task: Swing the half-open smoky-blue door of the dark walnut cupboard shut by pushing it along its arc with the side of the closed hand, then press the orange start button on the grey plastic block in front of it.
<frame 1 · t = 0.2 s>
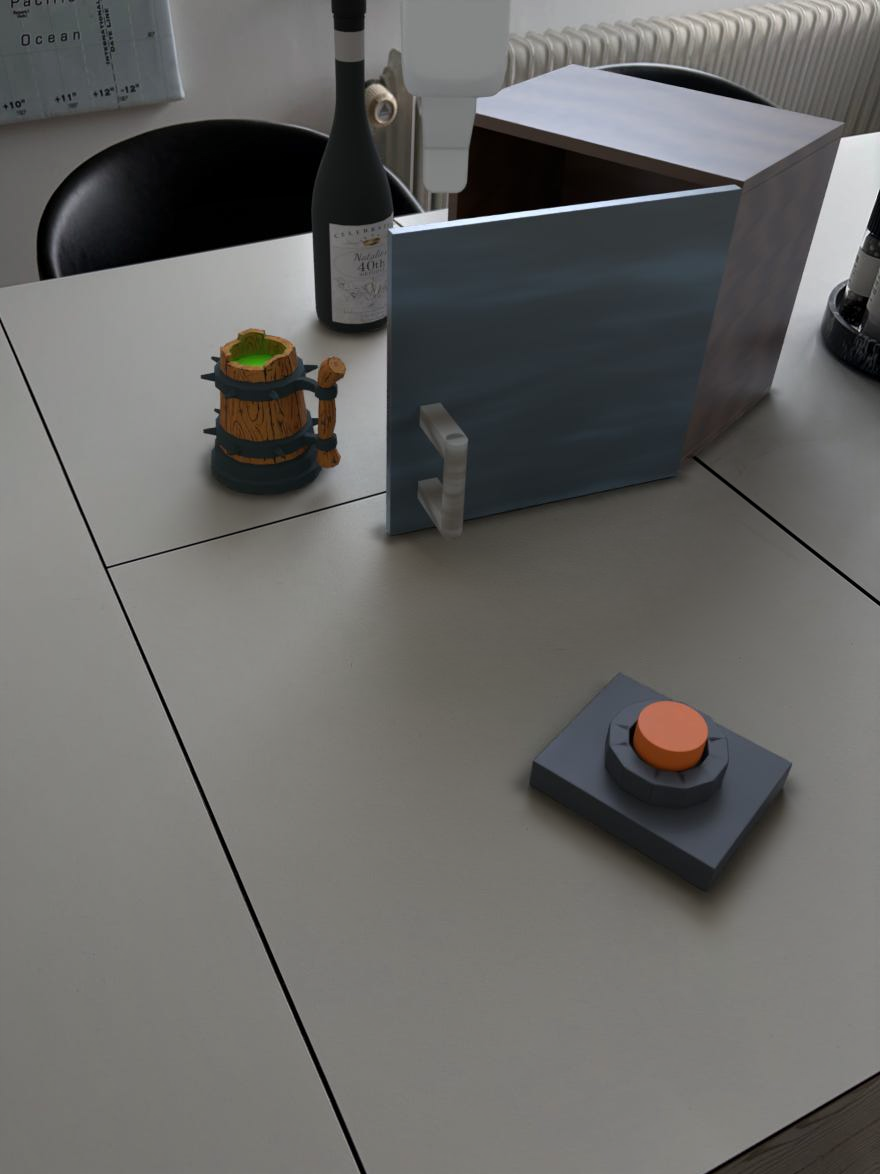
hand: (440, 149, 47), 34 cm above the table, tool pointing down, fingers open, 8 cm apart
cupboard: (603, 382, 100), on the table
mug: (281, 469, 89), on the table
start button: (670, 735, 61), point 4 cm above the table, slide at 0.1 cm
button block: (656, 785, 64), on the table
wine bottle: (354, 321, 110), on the table
door: (570, 388, 75), point 12 cm above the table, hinge at 60.0°
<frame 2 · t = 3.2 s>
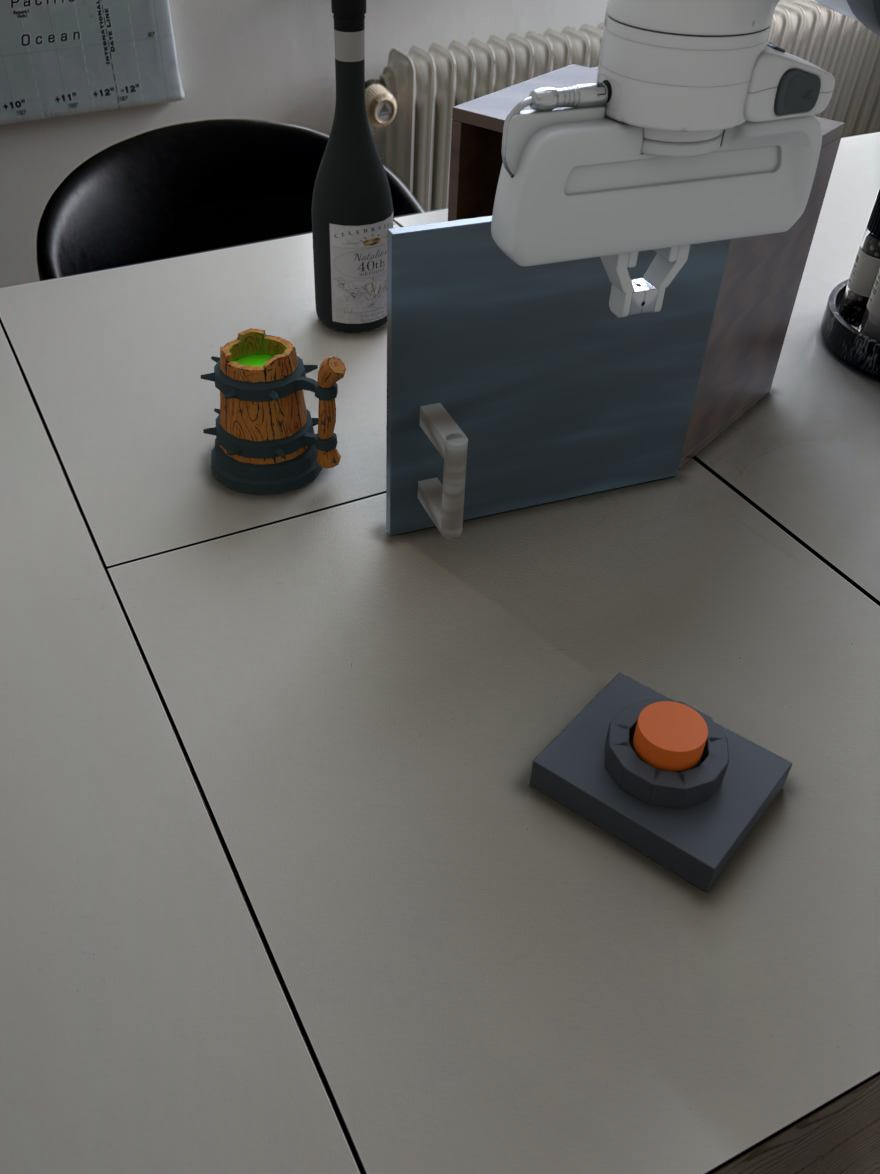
hand: (633, 311, 67), 20 cm above the table, tool pointing down, fingers closed
nothing on the table moved.
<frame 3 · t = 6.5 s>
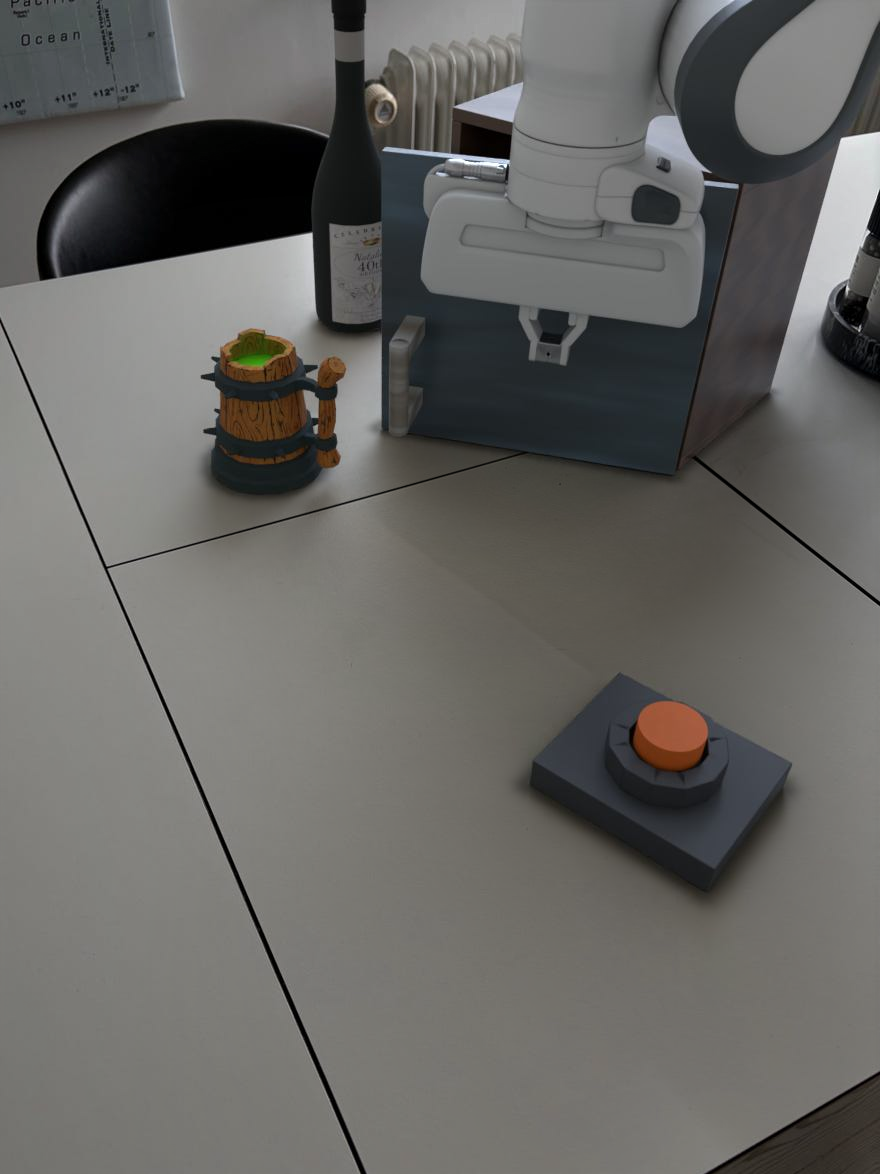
hand: (548, 360, 80), 11 cm above the table, tool pointing down, fingers closed
door: (531, 337, 81), point 12 cm above the table, hinge at 24.0°, touching arm
everything else where it was.
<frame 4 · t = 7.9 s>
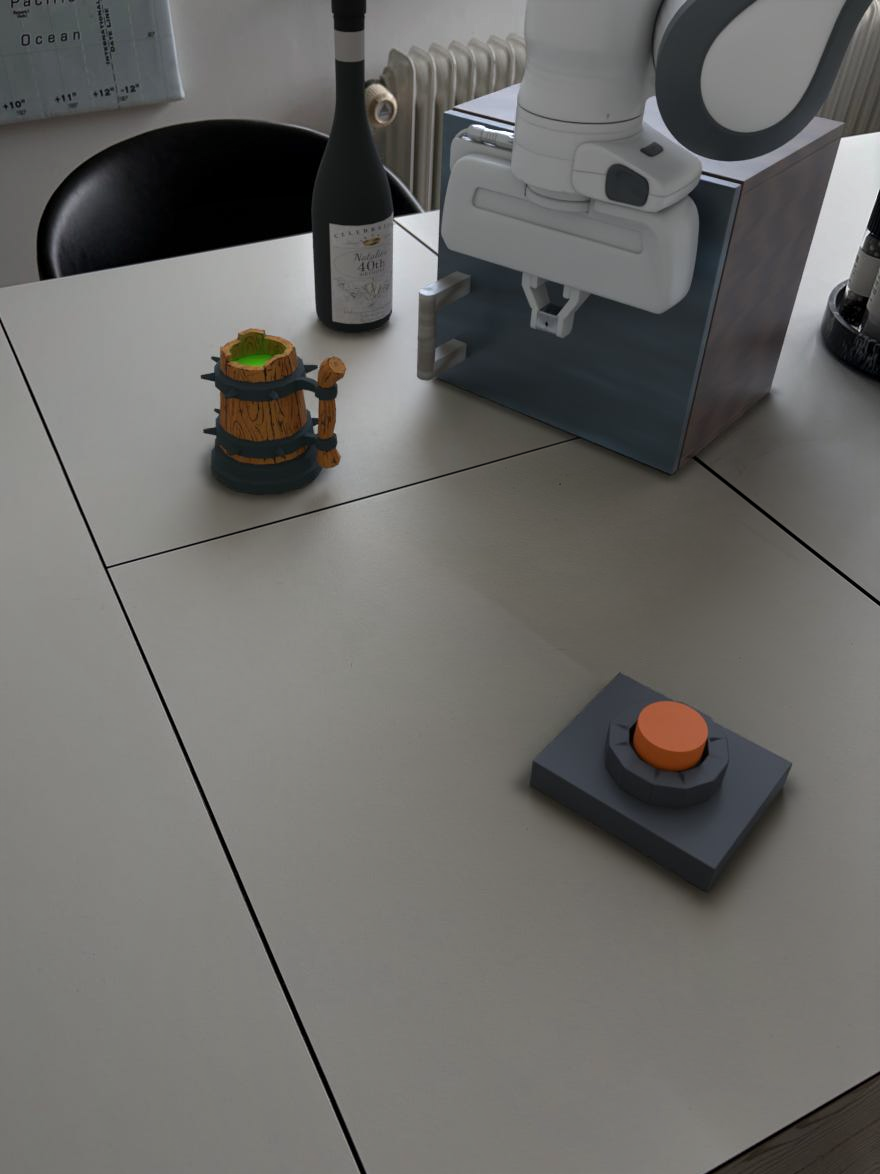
hand: (550, 330, 83), 11 cm above the table, tool pointing down, fingers closed
door: (543, 307, 85), point 12 cm above the table, hinge at 0.0°, touching arm
everything else where it was.
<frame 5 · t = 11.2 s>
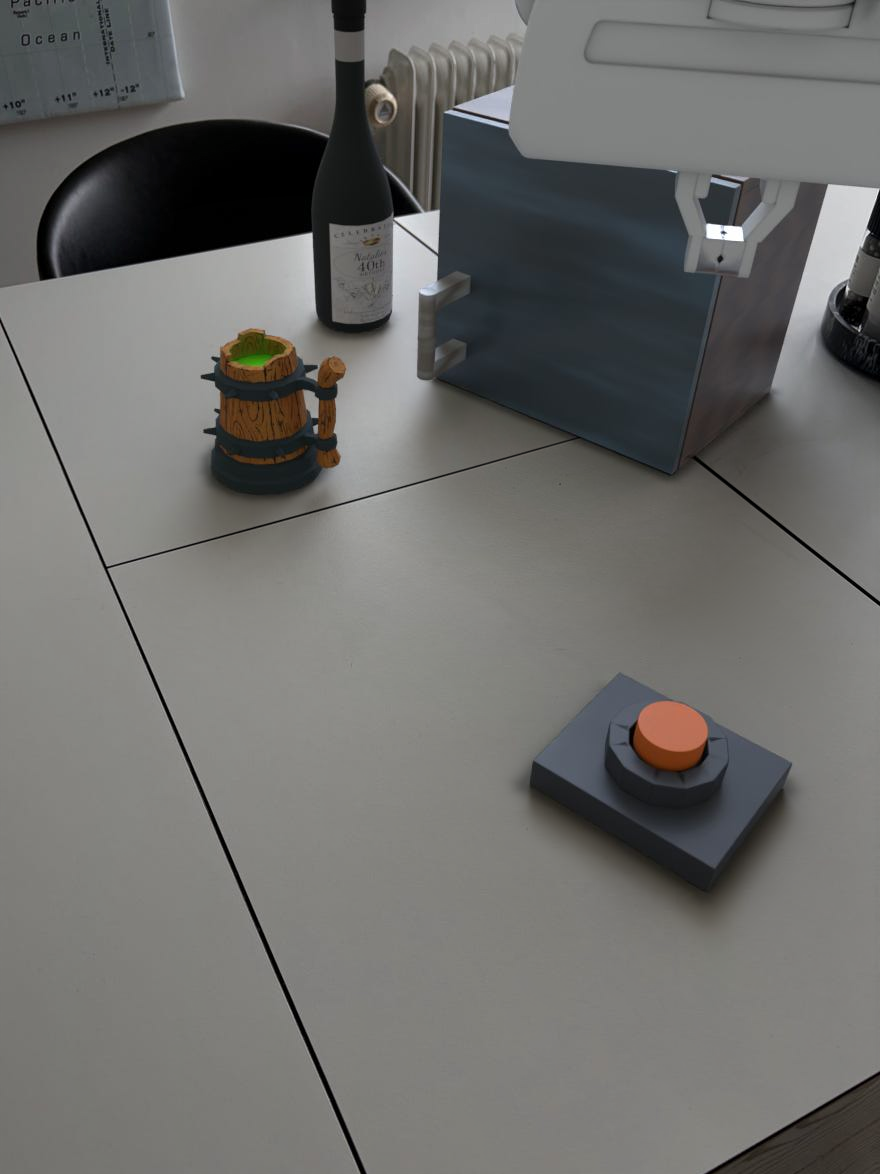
hand: (715, 270, 48), 30 cm above the table, tool pointing down, fingers closed
door: (543, 307, 85), point 12 cm above the table, hinge at 0.0°
everything else where it was.
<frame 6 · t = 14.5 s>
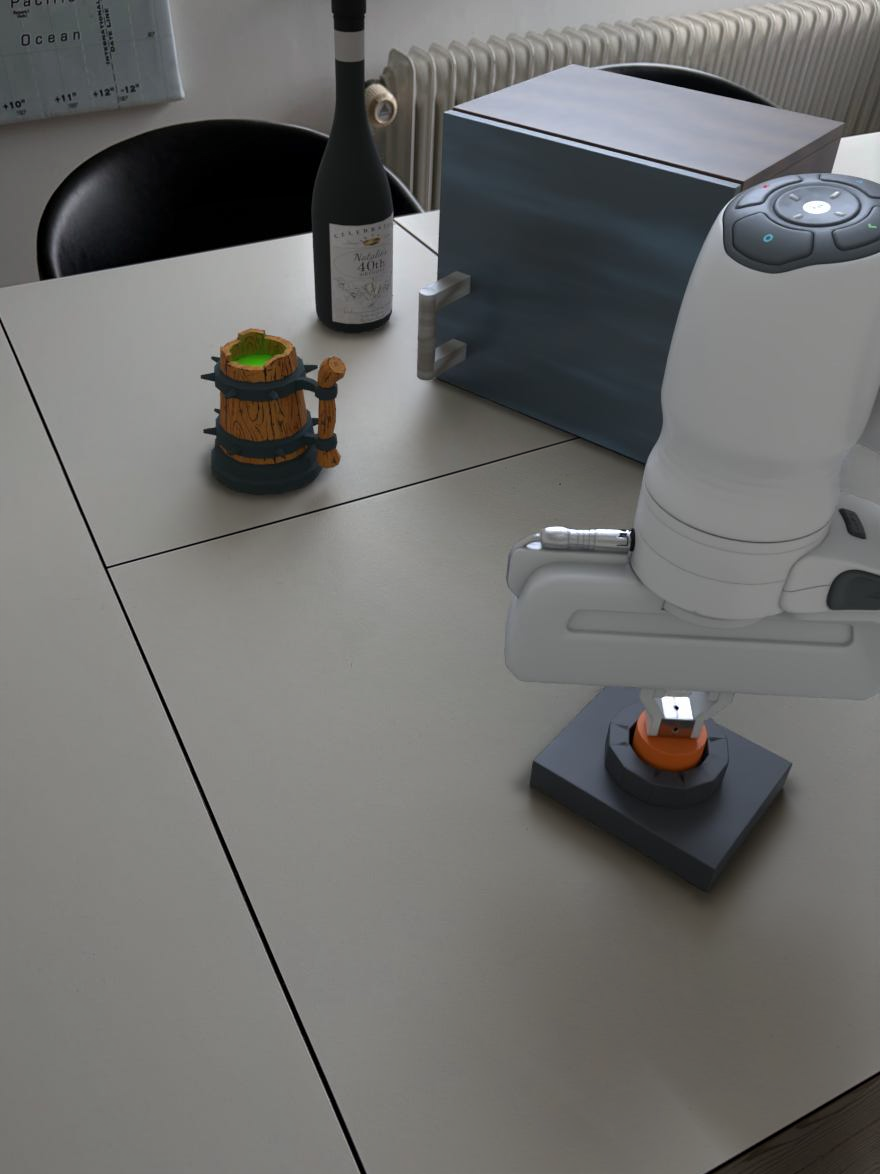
hand: (670, 729, 60), 5 cm above the table, tool pointing down, fingers closed, pressing on start button
start button: (669, 739, 61), point 4 cm above the table, slide at -0.2 cm, touching gripper
everything else where it was.
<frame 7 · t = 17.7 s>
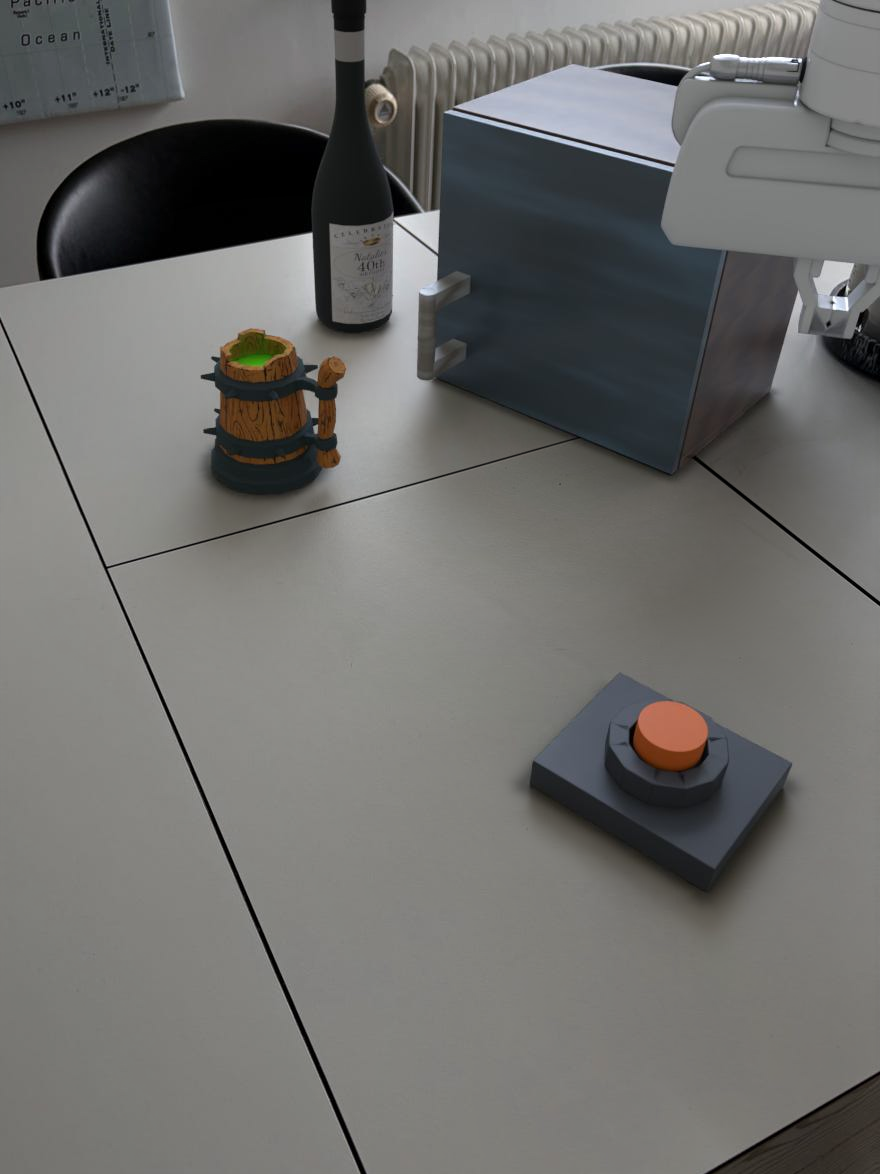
hand: (824, 332, 60), 22 cm above the table, tool pointing down, fingers closed
start button: (670, 735, 61), point 4 cm above the table, slide at 0.1 cm
everything else where it was.
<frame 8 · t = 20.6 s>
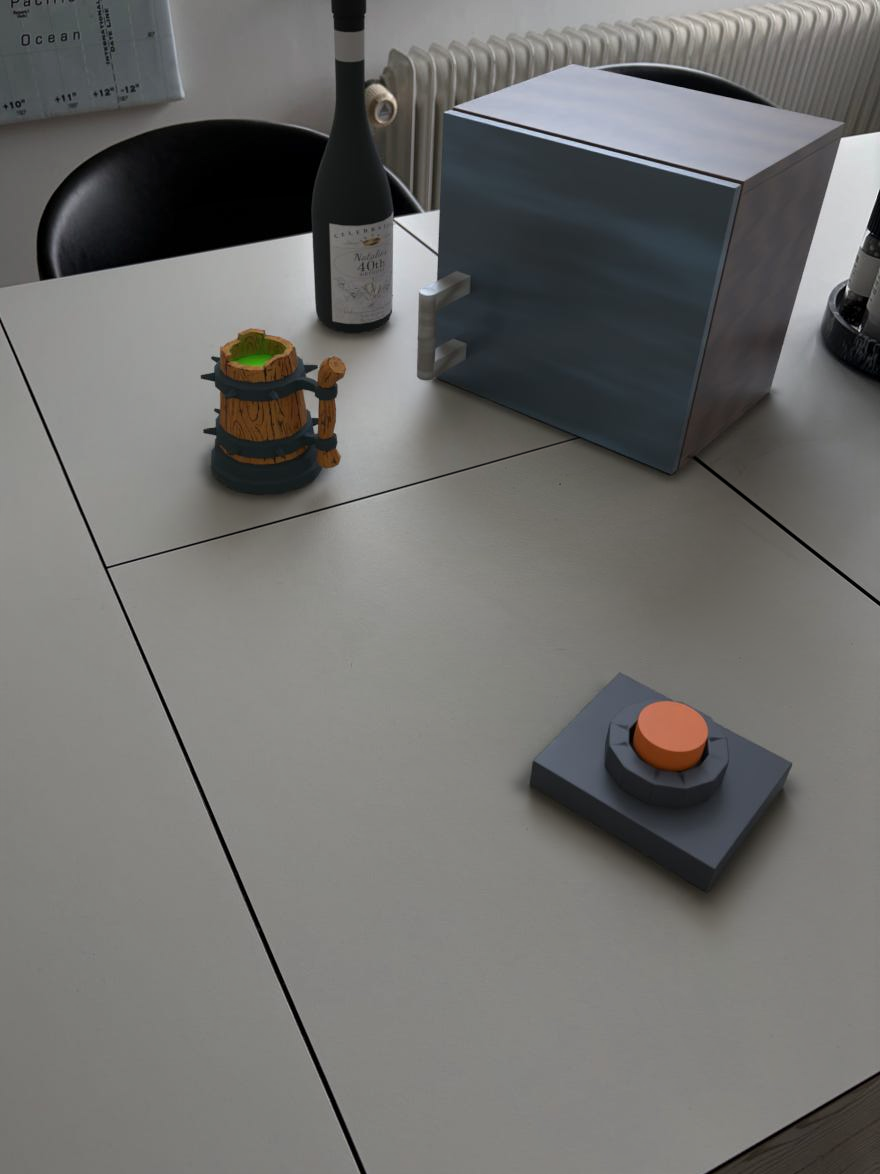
nothing on the table moved.
at the end: door at +0° (first picture: +60°); start button pushed in 1.0 cm at the most during the clip, back to where it started at the end; start button slide at 0.1 cm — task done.
